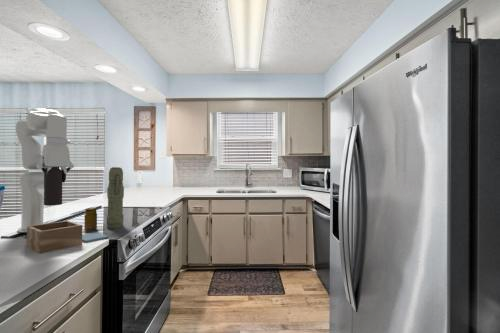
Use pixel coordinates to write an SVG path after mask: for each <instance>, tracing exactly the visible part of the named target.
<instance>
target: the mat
mask: <svg viewBox="0 0 500 333" xmlns="http://www.w3.org/2000/svg"><path fill="white" fill-rule="evenodd" d="M108 238H109V236H108V235H106V234H102V233H101V232H98V231H93V232H90V233H85V234H82V243H91V242H95V241H101V240H105V239H108Z"/></svg>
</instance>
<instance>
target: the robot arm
mask: <svg viewBox="0 0 500 333" xmlns="http://www.w3.org/2000/svg"><path fill="white" fill-rule="evenodd" d="M67 127H68V119H67V116H65V115H63V114H61V113H60V112H59V111H57V110H55V109H54V110H53V109H48V108H47V109H46V108H39V107H35V108H31V109H29V110H28V111H27V114H26V117H25V119H20V120H18V121H17V122H16V124H15V132H16V133H15V134H16V136H17V138H18V141H19V143H20V145H21V162H22V167H23V169H25V170H28V172H24V173H22V174H21V175H20V177H19V185H20V190H21V215H20V216H21V219H20V220H21V222H20V223H21V224H20V225H21V227H18V228H17V233H18V232H19V233H27V226H33V225H40V224H44V212H45V211H44V208H45V205H44V194H43V193H41V192H40V191H39V190H44V173H47V172H48V171H49V170H50V169H51V168H52V167H59V169H60V170H61V171H62V183H65V182H66V180H67V173H68V172H70V170H72V169H73V168H75V165H74V164H73V163H72V162H71V156H70V155H71V154H70V150H69V149H70V148H69V144H70V143H71V142H70V140H68V139H67V138H68V137H67V133H68V131H67V130H68V128H67ZM35 137H42V138H46V139H45V140H46V141H45V144H43V146H42V145H41V142H39V141H38V140H37V139H36V138H35ZM47 168H48V169H47ZM29 170H30V171H29ZM46 171H47V172H46Z"/></svg>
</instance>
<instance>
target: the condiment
mask: <svg viewBox="0 0 500 333" xmlns="http://www.w3.org/2000/svg"><path fill="white" fill-rule="evenodd" d="M83 226H84V229H82V233H83V232H85V233H86V232H100V231H101V230H103V228H101V227H98V212H97V208H96V207H91V208H86V209H85V214H84V224H83Z"/></svg>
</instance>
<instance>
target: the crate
mask: <svg viewBox="0 0 500 333" xmlns="http://www.w3.org/2000/svg"><path fill="white" fill-rule="evenodd" d="M82 235H83V224H80V223H77V222H74V221H71V220H62V221H55V222H47V223H43V224H40V225H33V226H27V232H26V247H27V248H29V249H30V248H31V249H30V250H32V251H35V252H37V253H38V254H43V253H49V252H54V251H58V250H62V249H67V247H68V248H71V247H72V246H73V247H77V246H81V245H83V241H82ZM76 245H77V246H76Z"/></svg>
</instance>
